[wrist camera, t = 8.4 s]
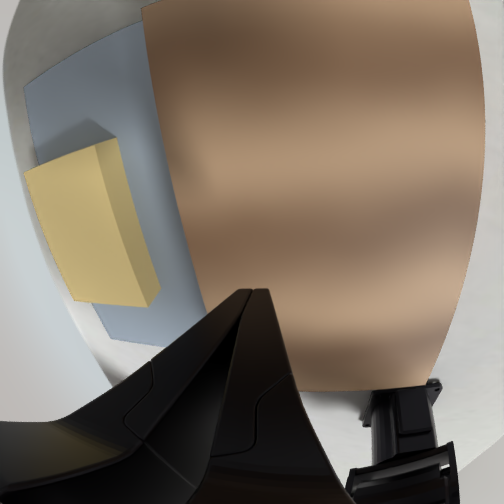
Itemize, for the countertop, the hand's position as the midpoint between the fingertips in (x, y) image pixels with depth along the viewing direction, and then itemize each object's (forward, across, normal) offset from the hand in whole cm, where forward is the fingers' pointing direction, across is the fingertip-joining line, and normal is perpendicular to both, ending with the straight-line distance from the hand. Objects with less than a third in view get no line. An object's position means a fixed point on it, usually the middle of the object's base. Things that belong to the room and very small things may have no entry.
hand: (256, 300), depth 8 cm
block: (+6, +12, 0) cm, 13 cm away
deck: (+8, -2, 0) cm, 8 cm away
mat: (+8, +10, 0) cm, 13 cm away
